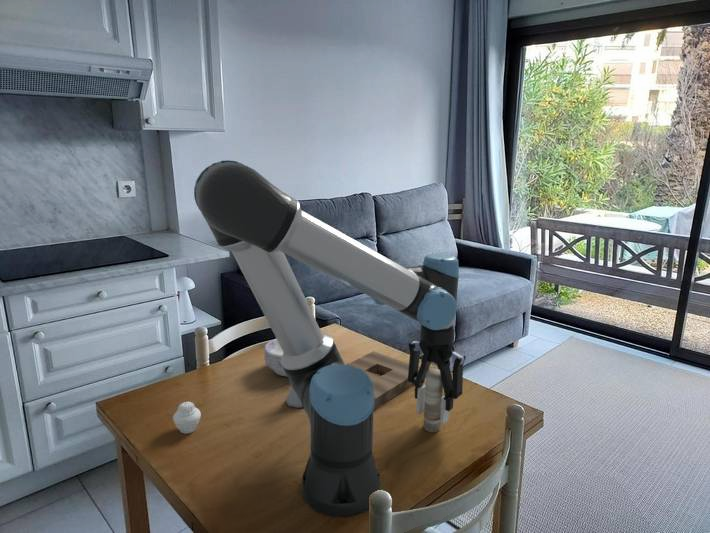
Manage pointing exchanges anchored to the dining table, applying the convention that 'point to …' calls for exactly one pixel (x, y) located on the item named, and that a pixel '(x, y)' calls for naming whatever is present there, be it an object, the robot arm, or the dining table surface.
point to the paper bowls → (274, 356)
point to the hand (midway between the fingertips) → (432, 416)
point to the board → (384, 375)
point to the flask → (293, 399)
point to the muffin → (187, 417)
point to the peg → (433, 400)
